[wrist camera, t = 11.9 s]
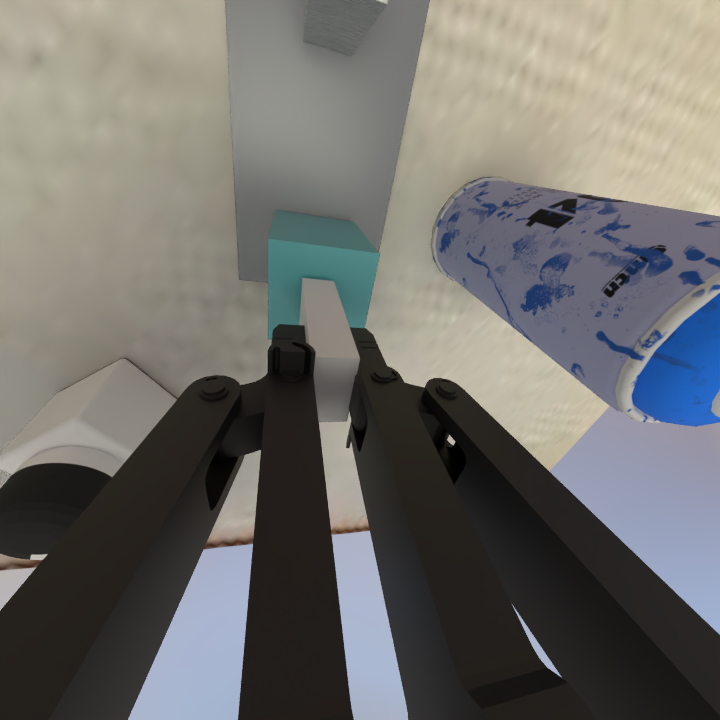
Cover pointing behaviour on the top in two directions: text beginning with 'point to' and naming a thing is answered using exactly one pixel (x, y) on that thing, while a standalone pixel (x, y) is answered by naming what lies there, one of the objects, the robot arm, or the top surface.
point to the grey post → (340, 22)
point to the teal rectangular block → (318, 265)
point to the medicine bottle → (73, 454)
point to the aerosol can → (597, 289)
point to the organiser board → (315, 119)
